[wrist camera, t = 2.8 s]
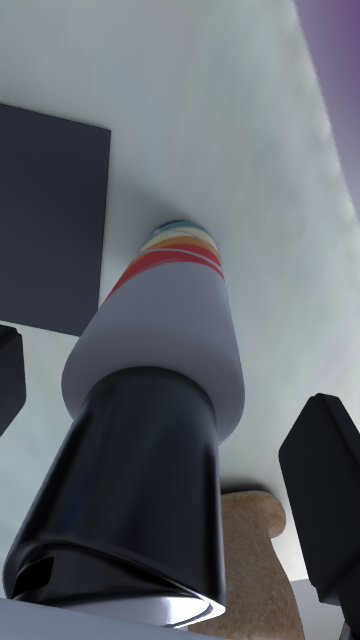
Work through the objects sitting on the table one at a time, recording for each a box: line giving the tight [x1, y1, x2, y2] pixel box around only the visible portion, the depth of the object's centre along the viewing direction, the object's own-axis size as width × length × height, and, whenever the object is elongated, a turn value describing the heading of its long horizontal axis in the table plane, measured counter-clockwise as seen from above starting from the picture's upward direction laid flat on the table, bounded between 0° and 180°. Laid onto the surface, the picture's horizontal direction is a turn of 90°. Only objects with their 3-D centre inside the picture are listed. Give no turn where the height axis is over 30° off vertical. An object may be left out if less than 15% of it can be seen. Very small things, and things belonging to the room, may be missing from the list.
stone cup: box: [188, 491, 305, 640], centre depth 31 cm, size 15×12×15 cm
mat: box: [0, 104, 111, 337], centre depth 22 cm, size 16×14×1 cm
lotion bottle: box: [2, 220, 245, 629], centre depth 13 cm, size 6×6×20 cm
